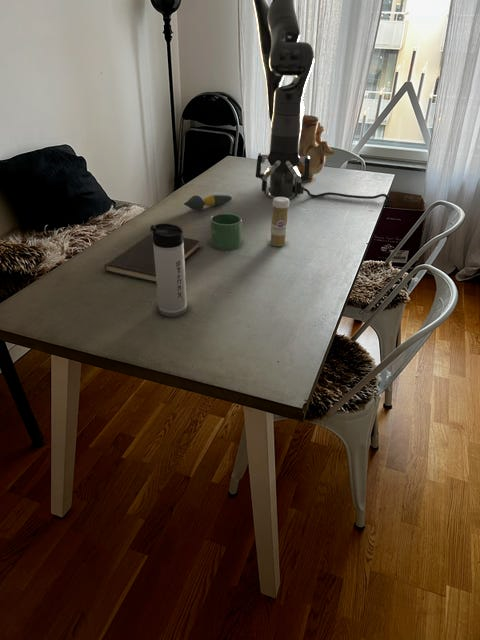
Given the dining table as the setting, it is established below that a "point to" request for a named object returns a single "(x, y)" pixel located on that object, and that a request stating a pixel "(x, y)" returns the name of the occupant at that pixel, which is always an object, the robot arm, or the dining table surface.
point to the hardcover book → (143, 259)
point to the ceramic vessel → (312, 146)
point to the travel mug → (169, 269)
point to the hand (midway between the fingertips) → (280, 194)
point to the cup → (226, 231)
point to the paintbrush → (207, 201)
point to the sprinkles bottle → (279, 221)
